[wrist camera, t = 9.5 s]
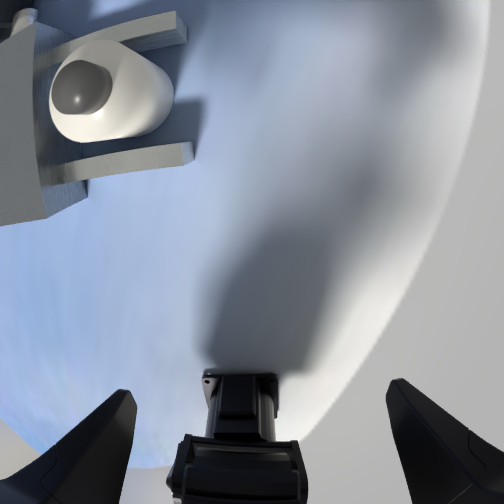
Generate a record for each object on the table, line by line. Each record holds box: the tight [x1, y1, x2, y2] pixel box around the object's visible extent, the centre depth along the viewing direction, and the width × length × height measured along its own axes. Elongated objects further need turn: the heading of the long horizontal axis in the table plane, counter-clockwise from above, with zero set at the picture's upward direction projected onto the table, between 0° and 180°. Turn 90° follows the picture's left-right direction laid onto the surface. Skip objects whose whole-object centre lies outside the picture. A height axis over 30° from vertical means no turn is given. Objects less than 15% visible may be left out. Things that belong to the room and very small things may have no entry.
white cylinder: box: [49, 40, 174, 142], centre depth 12 cm, size 5×5×8 cm
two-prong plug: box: [0, 8, 194, 226], centre depth 13 cm, size 15×15×5 cm
